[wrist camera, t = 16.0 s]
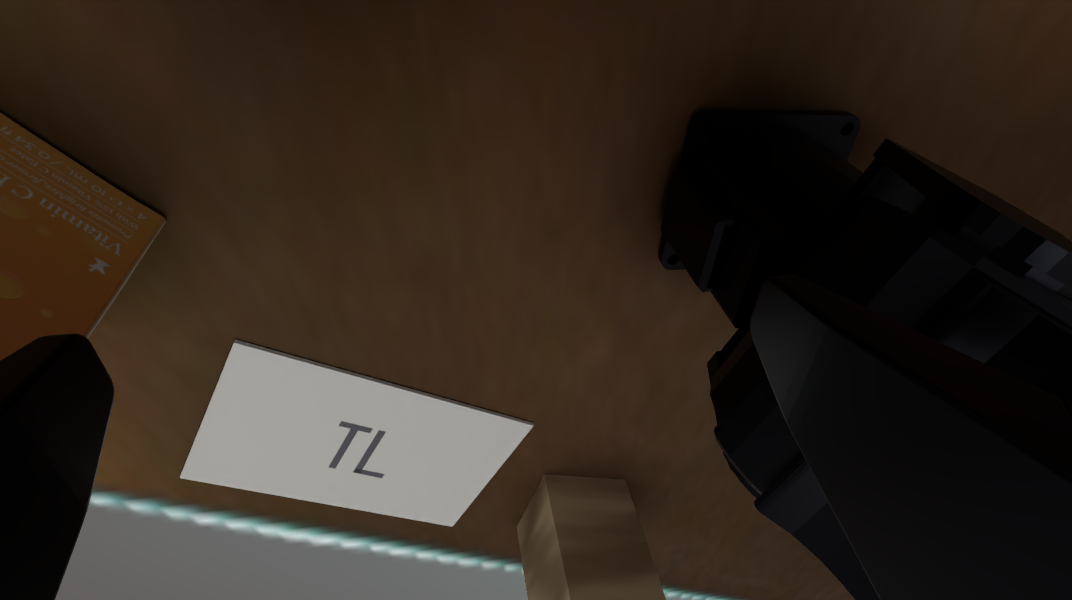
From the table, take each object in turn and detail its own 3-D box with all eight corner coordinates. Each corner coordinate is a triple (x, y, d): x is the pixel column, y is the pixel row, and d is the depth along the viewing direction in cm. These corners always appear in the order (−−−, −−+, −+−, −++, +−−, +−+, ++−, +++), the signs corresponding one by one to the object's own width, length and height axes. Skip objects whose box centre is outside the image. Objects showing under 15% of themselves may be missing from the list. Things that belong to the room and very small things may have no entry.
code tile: (532, 422, 29) (533, 425, 29) (452, 523, 33) (452, 526, 33) (235, 339, 23) (233, 342, 23) (180, 474, 27) (179, 478, 27)
